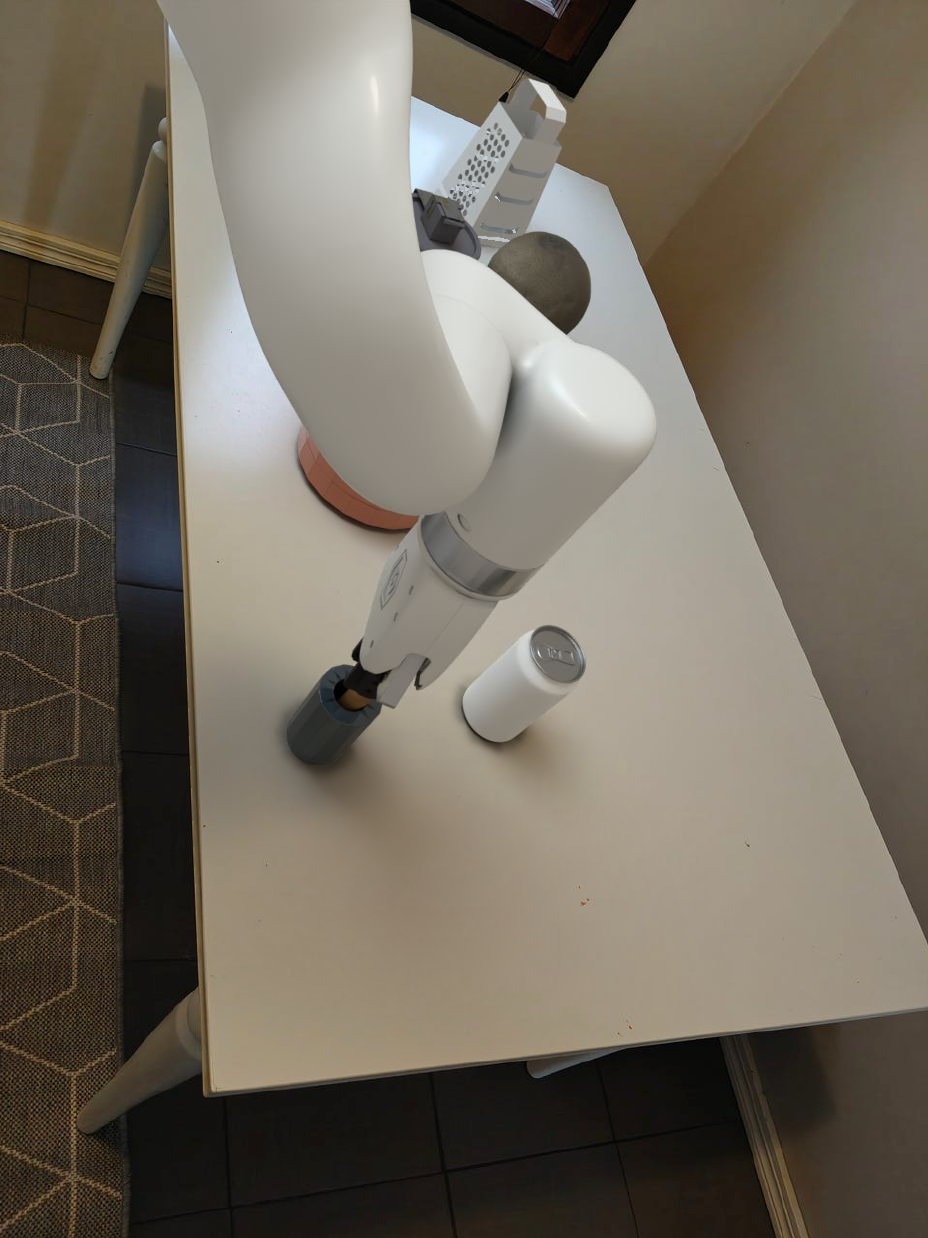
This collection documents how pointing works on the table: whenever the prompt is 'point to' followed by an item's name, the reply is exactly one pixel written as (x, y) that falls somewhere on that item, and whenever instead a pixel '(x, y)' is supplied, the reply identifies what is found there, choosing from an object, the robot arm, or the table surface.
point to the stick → (352, 701)
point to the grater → (509, 163)
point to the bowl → (344, 490)
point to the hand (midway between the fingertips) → (366, 676)
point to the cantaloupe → (547, 276)
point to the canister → (443, 225)
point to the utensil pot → (328, 720)
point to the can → (524, 683)
